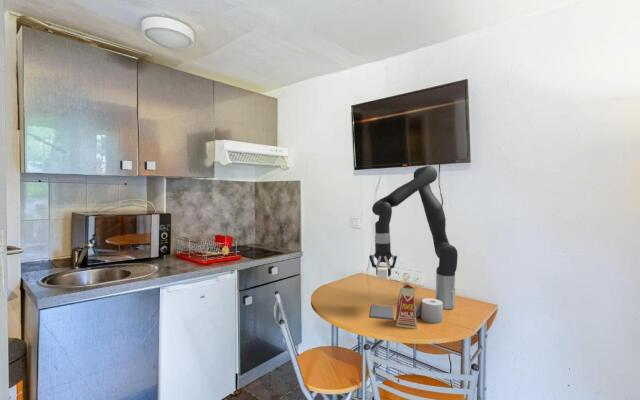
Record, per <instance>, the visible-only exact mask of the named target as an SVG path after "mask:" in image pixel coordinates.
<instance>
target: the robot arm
mask: <svg viewBox="0 0 640 400" xmlns="http://www.w3.org/2000/svg"><path fill="white" fill-rule="evenodd" d="M437 178H438V171H437V169H436V168H435V167H433V166H431V165H426V166H423V167H418V168H416V169H415V170H414V171H413V179H411V180H410V181H408V182H406V183H404V184H402V185H401V186H399V187H397V188H396V189H394V190H393V191H392V192H390V193H389V194H387V195H386V196H384V197H382V198H380V199H378V200H377V201H375V203H373V206H372V208H371V211H372V212H373V214H374V215H375V216H378V219H377V221H375V223H374V225H375V226H374V228H375V229H374V233H375V235H374V246H375V247H374V248H375V249H374V250H375V251H374V254H370V255H369V260H370V264H371V267H372V268H373V269H375V273H376V276H377V269H378V267H379V265H380V264H381V263H383V264H387V266H388V278H389V277H390V276H392V269H394V268H395V266H396V262H397V259H398V256H397V255H394V254H393V253H392V252H391V234H390V233H391V232H390V228H391V227H390V223H391V219H392V213H393V209H392V208H395V207H398V206H399V205H400V204H402V203H403V202H404V201H406V200H407V199H408V198H410V197H411V196H412V195H414V194H415V193H416V192H418V194H419V195H420V200H421V203H422V207H423V210H424V214H425V217H426V220H427V224H428V226H429V230H430V234H431V236H432V240H433V247H434V248H433V249H434V252H435V255H436V257H437V259H439V260H438V267H436V271H435V272H436V276H435V298H434V299H437V300H440V301H442V303H443V310H454V309H455V306H456V287H455V286H456V285H455V282H456V271H457V267H458V258H459V257H458V250H457V248H456V247H455V246H454V245H453V244H450V241H449V239H448V237H447V232H446V225H447V224H446V221H447V220H446V214H445V211H444V207H443V206H442V203H441V202H440V201H439V199H438V198H437V197H436V196H435V195H434V193H433V190H432V188H431V185H430V184H432V183H434V182H435V181H436V180H437ZM374 259H376V260H377V261H376V263H375V260H374ZM390 259H391V260H392V264H391V263H390Z"/></svg>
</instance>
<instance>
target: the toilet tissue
mask: <svg viewBox="0 0 640 400" xmlns="http://www.w3.org/2000/svg"><path fill="white" fill-rule="evenodd" d="M443 310H444V309H443V303H442V301H440V300H437V299H435V298H431V297H430V298H429V297H428V298H423V299H421V302H420V303H419V304H418V305H417V306H416V307H415V313H416V318H417V317H421V320H422V321H424V322H426V323H428V324H429V323H430V324H441V323H442V322H443V312H444V311H443Z"/></svg>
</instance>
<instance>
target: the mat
mask: <svg viewBox="0 0 640 400" xmlns="http://www.w3.org/2000/svg"><path fill="white" fill-rule="evenodd" d="M394 315H395V314H394V306H389V305H379V304H378V305H377V304H371V308H370V313H369V318H373V319H374V318H375V319H380V320H381V319H383V320H391V321H392V320H393V321H394V319H395V318H394Z"/></svg>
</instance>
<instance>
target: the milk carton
mask: <svg viewBox="0 0 640 400" xmlns="http://www.w3.org/2000/svg"><path fill="white" fill-rule="evenodd" d="M404 282H405V283H403V285H401V286H400V288H399V294H398V298H397V304H396V310H395V311H396V313H395V321H396V327H401V328H408V329H417V330H418V322H417V321H418V320H417V317H416V313H415V309H416V305H415V304H416V303H415V302H416V301H415V298H416V297H415V296H416V294H415V293H416V292H415V291H416V289H415V287H413V286H411V285H410V284H409V283H410V282H409V281H406V280H405V281H404Z"/></svg>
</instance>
